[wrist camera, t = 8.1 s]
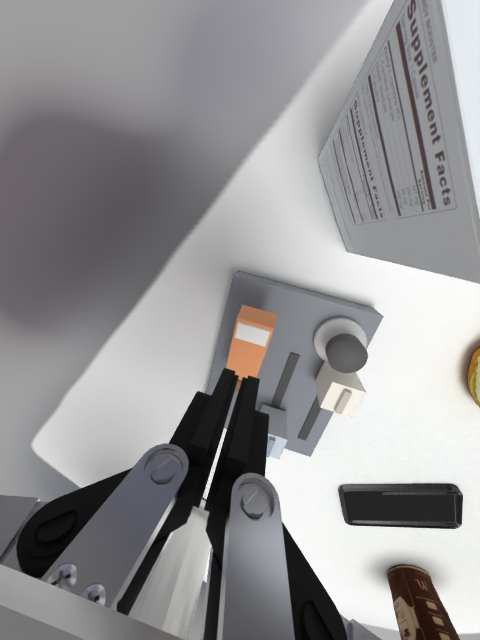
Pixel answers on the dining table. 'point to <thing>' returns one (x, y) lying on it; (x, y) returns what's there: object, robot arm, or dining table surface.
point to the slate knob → (276, 431)
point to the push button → (346, 353)
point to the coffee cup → (418, 606)
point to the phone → (402, 505)
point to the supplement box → (413, 142)
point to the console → (292, 349)
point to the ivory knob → (338, 390)
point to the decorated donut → (475, 376)
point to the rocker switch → (250, 342)
